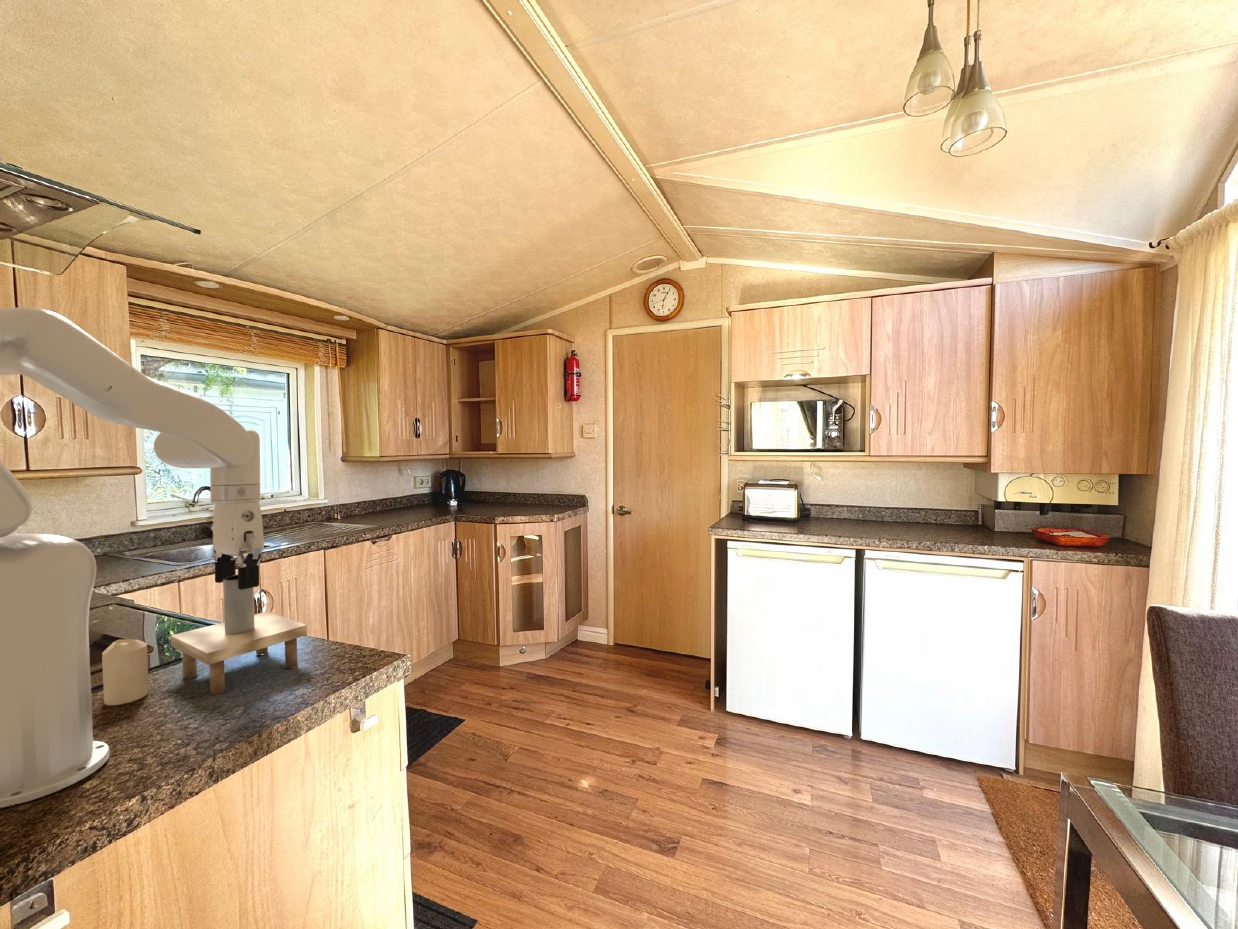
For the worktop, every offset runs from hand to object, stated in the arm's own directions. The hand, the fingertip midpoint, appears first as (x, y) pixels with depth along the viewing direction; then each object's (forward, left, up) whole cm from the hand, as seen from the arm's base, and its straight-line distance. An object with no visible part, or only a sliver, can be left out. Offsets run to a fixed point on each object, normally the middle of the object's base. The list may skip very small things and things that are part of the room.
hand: (236, 584), depth 96 cm
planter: (0, 0, -9) cm, 9 cm away
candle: (-15, +5, -17) cm, 23 cm away
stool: (0, 0, -17) cm, 17 cm away
